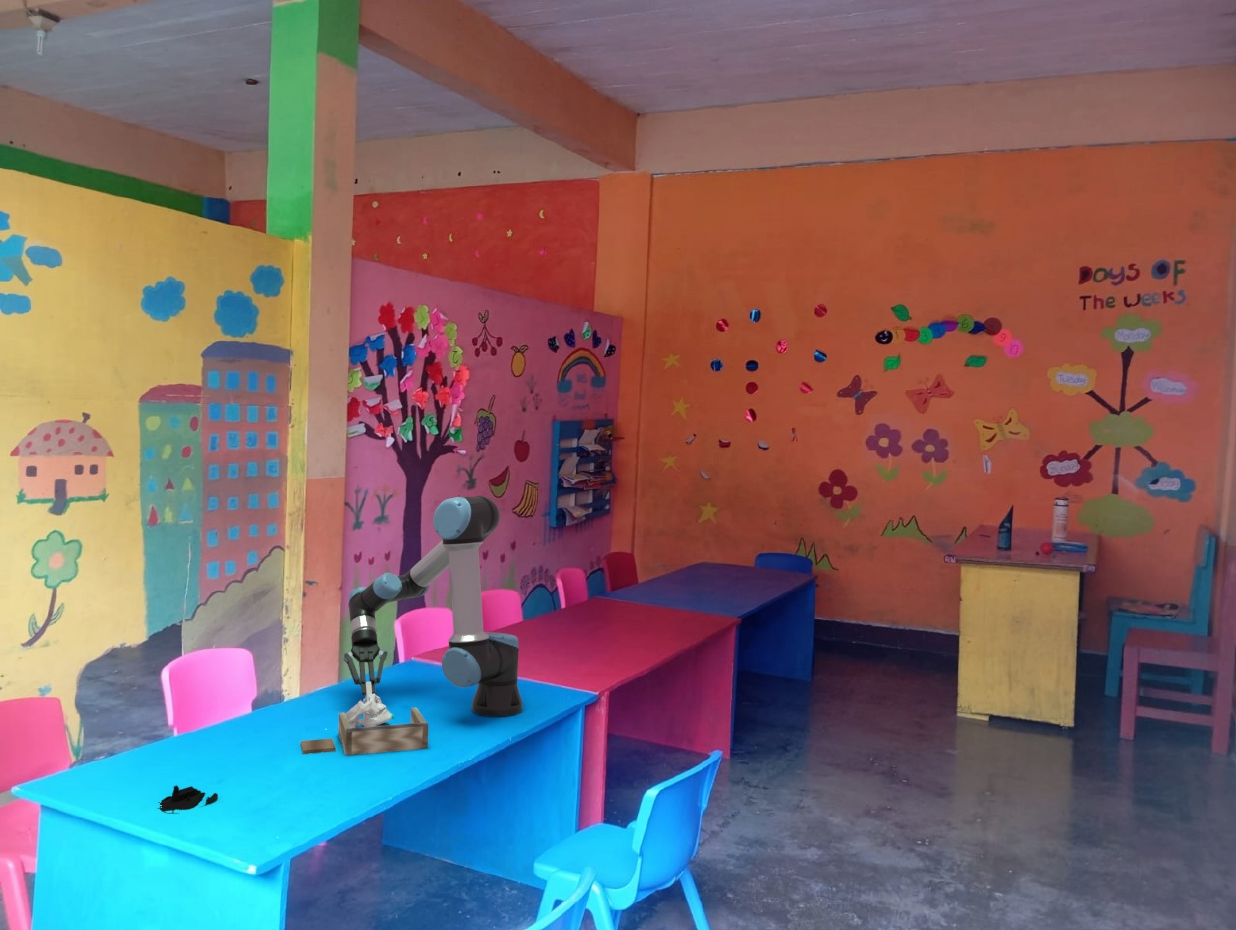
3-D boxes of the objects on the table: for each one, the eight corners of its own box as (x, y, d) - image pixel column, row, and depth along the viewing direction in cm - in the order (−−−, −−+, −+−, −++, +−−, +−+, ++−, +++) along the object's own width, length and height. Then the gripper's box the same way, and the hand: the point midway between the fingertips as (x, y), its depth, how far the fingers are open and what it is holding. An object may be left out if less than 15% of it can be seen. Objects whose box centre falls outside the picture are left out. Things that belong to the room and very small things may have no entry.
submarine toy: (173, 819, 211) (174, 796, 211) (146, 808, 216) (147, 786, 216) (223, 802, 221) (223, 780, 221) (195, 792, 226) (196, 771, 226)
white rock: (384, 723, 271) (362, 696, 272) (363, 744, 272) (341, 717, 274) (403, 711, 283) (381, 686, 284) (383, 732, 284) (361, 706, 285)
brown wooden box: (415, 728, 277) (416, 704, 277) (427, 748, 261) (428, 722, 260) (338, 734, 269) (339, 710, 269) (345, 755, 253) (346, 729, 253)
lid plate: (332, 743, 263) (332, 738, 263) (335, 753, 256) (335, 747, 256) (300, 746, 260) (300, 740, 260) (303, 756, 253) (303, 750, 253)
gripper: (384, 640, 305) (390, 708, 291) (340, 642, 301) (345, 712, 286) (387, 626, 300) (394, 695, 285) (342, 628, 296) (347, 698, 281)
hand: (369, 703), depth 286 cm, fingers closed
